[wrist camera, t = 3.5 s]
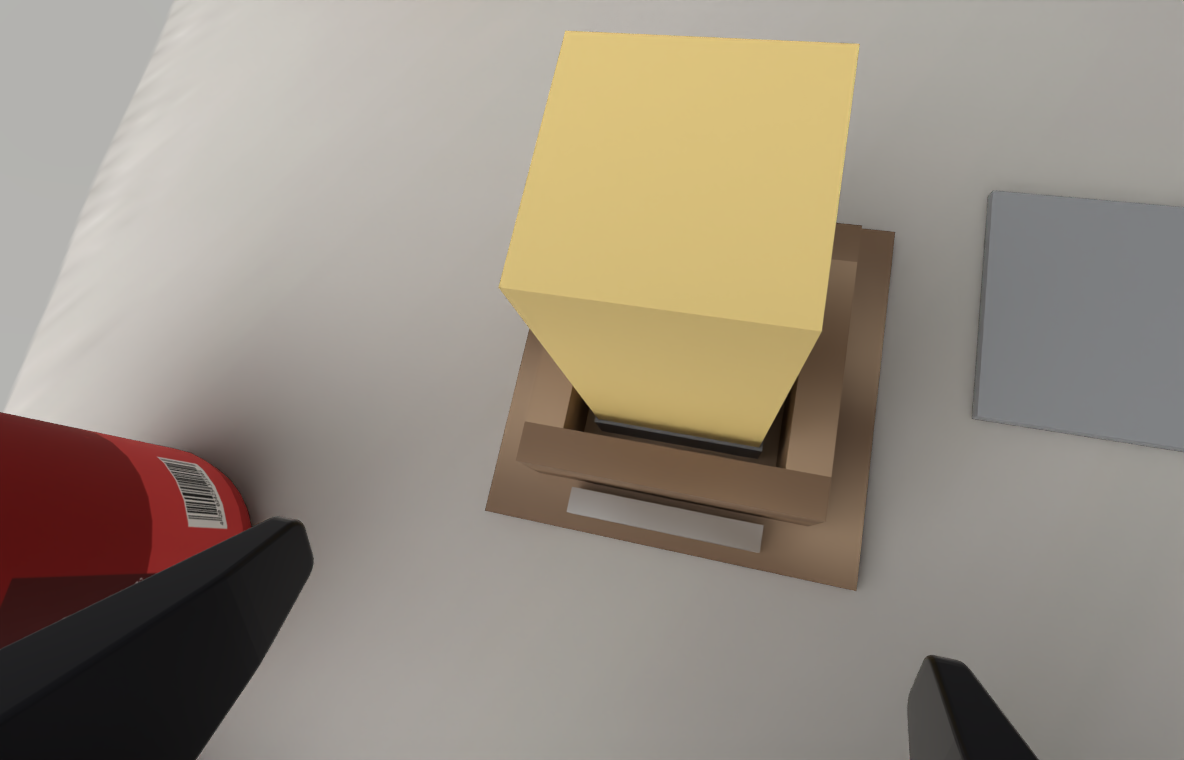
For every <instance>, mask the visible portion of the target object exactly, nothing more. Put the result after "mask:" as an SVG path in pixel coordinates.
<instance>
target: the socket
mask: <svg viewBox="0 0 1184 760" xmlns="http://www.w3.org/2000/svg"><path fill="white" fill-rule="evenodd" d="M894 237H895V232H890V231H880V230H871V229H862V226H861V225H851V224H841V223H836V227H835V234H834V242H833V249H832V257H831V265H830V272H829V280H828V287H827V295H826V303H825V310H824V318H823V325H822V332H821V334H820V336H819V337H818V339H817V341H816V343H815V345H814V347H813V349H812V350H811V352H810V354H809V356H808V358H807V360H806V361H805V363H804V365H803V367H802V369H801V371H800V373H799V374H798V376H797V378H796V380H795V382H794V384H793V386H792V387H791V389H790V391H789V393H788V395H787V397H786V399H785V400H784V402H783V404H782V406H781V408H780V410H779V412H778V413H777V415H776V417H775V419H774V421H773V423H772V425H771V426H770V428H769V430H768V432H767V434H766V436H765V438H764V441H763V448H762V452H761V454H760V456H759V457H758V459H754V458H748V457H743V456H737V455H732V454H726V453H721V452H715V451H710V450H704V449H699V448H693V447H687V446H682V445H676V444H671V443H665V442H660V441H654V440H649V439H643V438H638V437H632V436H627V435H621V434H616V433H610V432H605V431H602V430H601V429H600V428H599V427H598V425H597V424H596V423H595V417H596V416H595V414H594V413H593V412H592V410H591V409H590V408H589V406H588V405H587V404H586V402H585V401H584V400H583V398H582V397H581V396H580V394H579V393H578V392H577V390H576V389H575V388H574V386H573V385H572V384H571V382H570V381H569V380H568V379H567V377H566V376H565V375H564V373H563V372H562V371H561V369H560V368H559V367H558V365H557V364H556V363H555V361H554V360H553V359H552V357H551V356H550V355H549V353H548V352H547V351H546V349H545V348H544V347H543V345H542V344H541V343H540V341H539V340H538V339H537V337H536V336H535V335H534V334H533V332H532V331H531V330H530V328H529V333H528V337H527V341H526V345H525V349H524V353H523V357H522V361H521V365H520V369H519V373H518V377H517V382H516V386H515V390H514V394H513V398H512V402H511V406H510V410H509V414H508V418H507V422H506V427H505V431H504V435H503V439H502V443H501V447H500V451H499V455H498V459H497V463H496V467H495V472H494V476H493V480H492V484H491V488H490V492H489V496H488V500H487V504H486V508H485V511H490V512H494V513H499V514H503V515H508V516H513V517H517V518H522V519H527V520H531V521H536V522H540V523H545V524H550V525H554V526H559V527H563V528H568V529H573V530H577V531H582V532H586V533H591V534H596V535H600V536H605V537H610V538H614V539H619V540H623V541H628V542H633V543H637V544H642V545H646V546H651V547H656V548H660V549H665V550H669V551H674V552H679V553H683V554H688V555H693V556H697V557H702V558H706V559H711V560H716V561H720V562H725V563H729V564H734V565H739V566H743V567H748V568H752V569H757V570H762V571H766V572H771V573H776V574H780V575H785V576H789V577H794V578H799V579H803V580H808V581H812V582H817V583H822V584H826V585H831V586H836V587H840V588H845V589H849V590H854V591H856V589H857V580H858V571H859V561H860V552H861V543H862V534H863V524H864V515H865V506H866V496H867V487H868V478H869V469H870V459H871V450H872V441H873V431H874V422H875V413H876V404H877V394H878V385H879V376H880V367H881V357H882V348H883V339H884V329H885V320H886V311H887V302H888V292H889V283H890V274H891V265H892V255H893V246H894Z"/></svg>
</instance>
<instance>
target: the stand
mask: <svg viewBox="0 0 1184 760" xmlns="http://www.w3.org/2000/svg"><path fill="white" fill-rule="evenodd" d="M972 419H978V420H984V421H991V422H997V423H1003V424H1010V425H1016V426H1022V427H1029V428H1035V429H1042V430H1048V431H1054V432H1061V433H1067V434H1073V435H1080V436H1086V437H1093V438H1099V439H1105V440H1112V441H1118V442H1124V443H1131V444H1137V445H1143V446H1150V447H1156V448H1163V449H1169V450H1175V451H1182V452H1184V207H1177V206H1165V205H1154V204H1142V203H1131V202H1119V201H1108V200H1096V199H1085V198H1073V197H1062V196H1050V195H1039V194H1028V193H1016V192H1005V191H992V193H991V194H990V195H989V196H988V206H987V220H986V234H985V248H984V262H983V276H982V290H981V304H980V318H979V332H978V346H977V360H976V373H975V387H974V401H973V415H972Z"/></svg>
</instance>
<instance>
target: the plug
mask: <svg viewBox="0 0 1184 760" xmlns="http://www.w3.org/2000/svg"><path fill="white" fill-rule="evenodd" d="M859 45H860V44H849V43H826V42H804V41H782V40H759V39H737V38H715V37H693V36H670V35H648V34H626V33H603V32H581V31H565V34H564V38H563V42H562V46H561V50H560V53H559V57H558V61H557V65H556V69H555V73H554V77H553V80H552V84H551V88H550V92H549V96H548V100H547V103H546V107H545V111H544V115H543V119H542V123H541V126H540V130H539V134H538V138H537V142H536V146H535V149H534V153H533V157H532V161H531V165H530V169H529V172H528V176H527V180H526V184H525V188H524V192H523V196H522V199H521V203H520V207H519V211H518V215H517V219H516V222H515V226H514V230H513V234H512V238H511V242H510V245H509V249H508V253H507V257H506V261H505V265H504V268H503V272H502V276H501V280H500V284H499V289H500V290H501V291H502V292H503V294H504V295H505V296H506V298H507V299H508V300H509V302H510V303H511V304H512V306H513V307H514V308H515V310H516V311H517V312H518V314H519V315H520V316H521V318H522V319H523V320H524V322H525V323H526V324H527V326H528V327H529V328H530V330H531V331H532V332H533V334H534V335H535V336H536V337H537V339H538V340H539V341H540V343H541V344H542V345H543V347H544V348H545V349H546V351H547V352H548V353H549V355H550V356H551V357H552V359H553V360H554V361H555V363H556V364H557V365H558V367H559V368H560V369H561V371H562V372H563V373H564V375H565V376H566V377H567V379H568V380H569V381H570V382H571V384H572V385H573V386H574V388H575V389H576V390H577V392H578V393H579V394H580V396H581V397H582V398H583V400H584V401H585V402H586V404H587V405H588V406H589V408H590V409H591V410H592V412H593V413H594V414H595V416H596V417H595V423H596V424H597V425H598V427H599V428H600V429H601V430H602V431H605V432H610V433H616V434H621V435H627V436H632V437H638V438H643V439H649V440H654V441H660V442H665V443H671V444H676V445H682V446H687V447H693V448H699V449H704V450H710V451H715V452H721V453H726V454H732V455H737V456H743V457H748V458H754V459H758V457H759V456H760V454H761V452H762V448H763V441H764V438H765V436H766V434H767V432H768V430H769V428H770V426H771V425H772V423H773V421H774V419H775V417H776V415H777V413H778V412H779V410H780V408H781V406H782V404H783V402H784V400H785V399H786V397H787V395H788V393H789V391H790V389H791V387H792V386H793V384H794V382H795V380H796V378H797V376H798V374H799V373H800V371H801V369H802V367H803V365H804V363H805V361H806V360H807V358H808V356H809V354H810V352H811V350H812V349H813V347H814V345H815V343H816V341H817V339H818V337H819V336H820V334H821V332H822V325H823V318H824V310H825V303H826V295H827V287H828V280H829V272H830V265H831V257H832V249H833V242H834V234H835V227H836V219H837V212H838V204H839V196H840V189H841V181H842V174H843V166H844V158H845V151H846V143H847V136H848V128H849V121H850V113H851V105H852V98H853V90H854V83H855V75H856V67H857V60H858V52H859Z"/></svg>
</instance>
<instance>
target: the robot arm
mask: <svg viewBox="0 0 1184 760" xmlns="http://www.w3.org/2000/svg"><path fill="white" fill-rule="evenodd" d="M313 563H314V558H313V554H312V550H311V547H310V543H309V540H308V537H307V533H306V530H305V527H304V525H303V523H302V522H301V521H299V520H295V519H291V518H286V517H280V516H277V517H273V518H270V519H268V520H266V521H264V522H262V523H260V524H258V525H255V526H253V527H251V528H249V529H247V530H245V531H243V532H241V533H239V534H237V535H235V536H233V537H231V538H229V539H227V540H224V541H222V542H220V543H218V544H216V545H214V546H212V547H210V548H208V549H206V550H204V551H202V552H200V553H198V554H196V555H194V556H191V557H189V558H187V559H185V560H183V561H181V562H179V563H177V564H175V565H173V566H171V567H169V568H167V569H165V570H163V571H160V572H158V573H156V574H154V575H152V576H150V577H148V578H146V579H144V580H142V581H140V582H138V583H136V584H134V585H132V586H129V587H127V588H125V589H123V590H121V591H119V592H117V593H115V594H113V595H111V596H109V597H107V598H105V599H103V600H101V601H98V602H96V603H94V604H92V605H90V606H88V607H86V608H84V609H82V610H80V611H78V612H76V613H74V614H72V615H70V616H67V617H65V618H63V619H61V620H59V621H57V622H55V623H53V624H51V625H49V626H47V627H45V628H43V629H41V630H38V631H36V632H34V633H32V634H30V635H28V636H26V637H24V638H22V639H20V640H18V641H16V642H14V643H12V644H10V645H7V646H5V647H3V648H2V649H0V760H196V759H197V758H198V756H199V755H200V753H201V752H202V750H203V749H204V747H205V746H206V744H207V743H208V741H209V740H210V738H211V737H212V735H213V734H214V732H215V731H216V729H217V728H218V726H219V725H220V724H221V722H222V721H223V719H224V718H225V716H226V715H227V713H228V712H229V710H230V709H231V707H232V706H233V704H234V703H235V701H236V700H237V698H238V697H239V695H240V694H241V692H242V691H243V689H244V688H245V687H246V685H247V684H248V682H249V681H250V679H251V678H252V676H253V675H254V673H255V671H256V670H257V668H258V667H259V665H260V664H261V662H262V660H263V659H264V657H265V655H266V653H267V652H268V650H269V648H270V647H271V645H272V643H273V641H274V639H275V637H276V636H277V634H278V632H279V630H280V628H281V627H282V625H283V623H284V621H285V619H286V617H287V616H288V614H289V612H290V610H291V608H292V607H293V605H294V603H295V601H296V599H297V597H298V596H299V594H300V592H301V590H302V588H303V587H304V585H305V583H306V581H307V579H308V577H309V576H310V573H311V571H312V568H313ZM907 716H908V733H909V750H910V760H1039V759H1038V758H1037V757H1036V755H1035V754H1034V753H1033V751H1032V750H1031V749H1030V747H1029V746H1028V745H1027V743H1026V742H1025V741H1024V740H1023V738H1022V737H1021V736H1020V734H1019V733H1018V732H1017V730H1016V729H1015V728H1014V726H1013V725H1012V724H1011V723H1010V721H1009V720H1008V719H1007V717H1006V716H1005V715H1004V713H1003V712H1002V711H1001V709H1000V708H999V707H998V705H997V704H996V703H995V702H994V700H993V699H992V698H991V696H990V695H989V694H988V692H987V691H986V690H985V688H984V687H983V686H982V684H981V683H980V682H979V681H978V679H977V678H976V677H975V675H974V674H973V673H972V671H971V670H970V669H969V668H968V667H967V666H966V665H965V664H964V663H962V662H961V661H958V660H954V659H949V658H945V657H940V656H935V655H929V656H927V657H926V658H925V659H924V661H923V663H922V665H921V667H920V670H919V672H918V674H917V677H916V679H915V681H914V684H913V686H912V688H911V691H910V693H909V697H908V704H907Z"/></svg>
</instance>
